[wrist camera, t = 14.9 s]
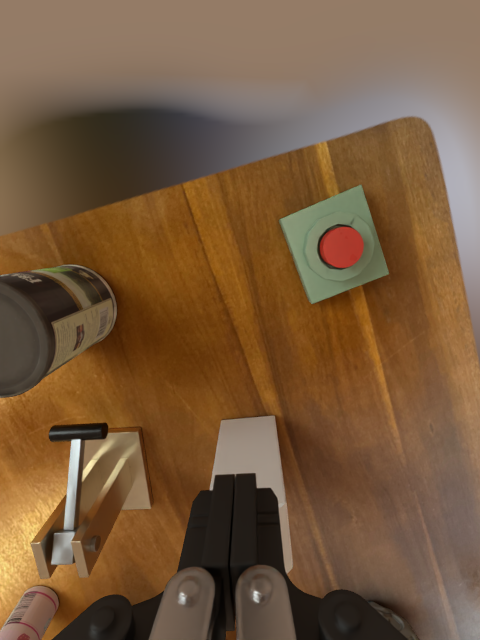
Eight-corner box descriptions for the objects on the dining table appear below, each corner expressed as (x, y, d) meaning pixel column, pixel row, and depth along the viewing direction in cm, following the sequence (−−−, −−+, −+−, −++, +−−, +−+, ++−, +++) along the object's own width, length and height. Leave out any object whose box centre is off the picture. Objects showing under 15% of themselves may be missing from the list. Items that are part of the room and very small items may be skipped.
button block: (278, 220, 38) (281, 218, 34) (355, 187, 37) (367, 181, 33) (308, 300, 40) (314, 307, 36) (382, 272, 39) (396, 275, 35)
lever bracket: (75, 430, 45) (0, 511, 32) (141, 426, 44) (93, 507, 31) (91, 504, 48) (29, 608, 34) (153, 502, 47) (114, 606, 34)
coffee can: (22, 273, 40) (-96, 290, 26) (104, 257, 39) (25, 266, 26) (49, 353, 42) (-47, 407, 29) (127, 339, 42) (66, 388, 28)
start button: (314, 236, 34) (317, 236, 33) (351, 221, 34) (356, 220, 32) (326, 272, 35) (330, 274, 34) (363, 257, 35) (369, 258, 33)
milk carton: (274, 414, 43) (292, 543, 25) (279, 461, 45) (299, 616, 27) (220, 419, 44) (198, 550, 25) (227, 465, 45) (211, 620, 27)
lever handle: (60, 425, 39) (47, 425, 37) (110, 422, 39) (100, 422, 37) (47, 556, 35) (32, 565, 33) (102, 554, 35) (90, 563, 33)
